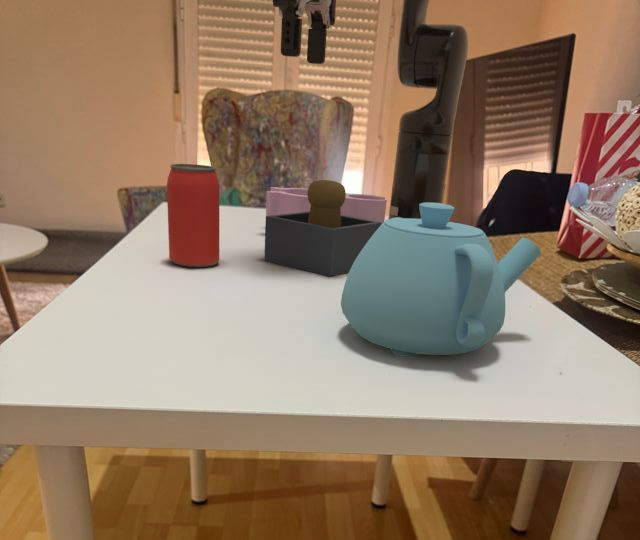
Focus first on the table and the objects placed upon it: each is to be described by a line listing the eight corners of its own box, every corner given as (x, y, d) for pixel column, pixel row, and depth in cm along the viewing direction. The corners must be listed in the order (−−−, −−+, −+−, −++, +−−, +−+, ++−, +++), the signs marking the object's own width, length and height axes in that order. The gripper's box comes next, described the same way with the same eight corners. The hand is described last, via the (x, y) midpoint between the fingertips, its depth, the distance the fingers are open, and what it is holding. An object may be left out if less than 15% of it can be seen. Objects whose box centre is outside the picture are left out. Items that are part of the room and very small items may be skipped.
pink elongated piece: (379, 234, 115) (383, 194, 112) (383, 247, 104) (388, 203, 101) (270, 225, 115) (272, 185, 112) (263, 237, 103) (264, 193, 100)
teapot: (308, 312, 66) (317, 186, 61) (468, 307, 73) (489, 193, 68) (391, 384, 50) (414, 221, 44) (587, 368, 57) (627, 225, 51)
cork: (342, 269, 87) (350, 184, 82) (299, 265, 87) (304, 181, 82) (342, 260, 92) (349, 180, 87) (301, 256, 92) (306, 177, 87)
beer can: (193, 270, 79) (191, 169, 74) (158, 261, 83) (154, 163, 77) (229, 264, 84) (230, 168, 79) (196, 255, 88) (194, 163, 82)
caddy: (314, 251, 96) (317, 210, 94) (377, 265, 91) (382, 222, 88) (264, 260, 88) (265, 216, 85) (330, 276, 82) (333, 229, 79)
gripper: (322, -135, 61) (312, 55, 69) (363, -91, 74) (350, 67, 81) (253, -133, 63) (250, 52, 71) (303, -90, 76) (296, 64, 83)
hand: (303, 60), depth 76 cm, fingers open, 8 cm apart
